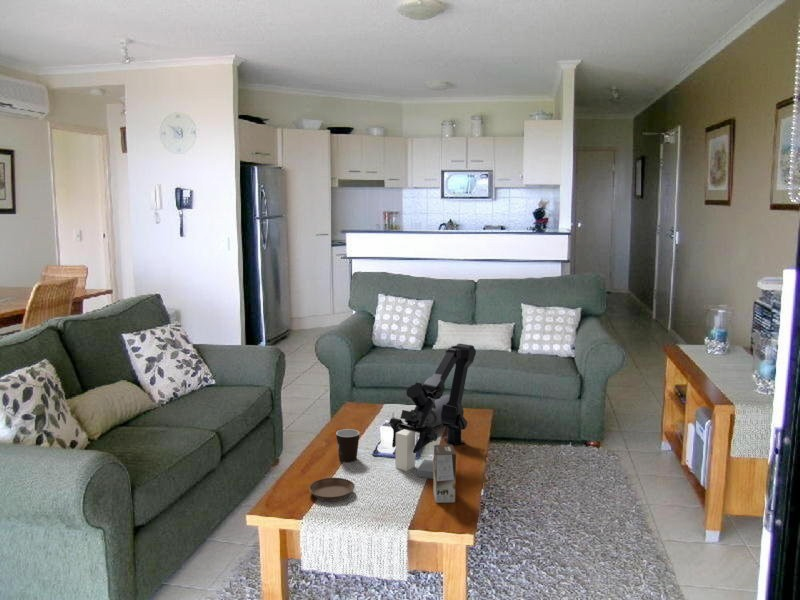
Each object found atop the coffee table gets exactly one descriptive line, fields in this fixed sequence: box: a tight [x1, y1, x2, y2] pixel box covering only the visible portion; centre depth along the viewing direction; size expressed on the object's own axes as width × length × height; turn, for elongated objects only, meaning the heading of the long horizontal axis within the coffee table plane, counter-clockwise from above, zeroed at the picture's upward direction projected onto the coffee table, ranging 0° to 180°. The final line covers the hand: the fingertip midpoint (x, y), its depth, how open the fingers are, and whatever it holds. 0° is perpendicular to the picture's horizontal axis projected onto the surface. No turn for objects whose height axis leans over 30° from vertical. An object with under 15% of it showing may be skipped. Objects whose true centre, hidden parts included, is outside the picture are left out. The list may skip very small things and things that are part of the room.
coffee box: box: [432, 444, 457, 504], centre depth 220 cm, size 9×6×16 cm
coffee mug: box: [335, 428, 361, 463], centre depth 253 cm, size 12×9×10 cm
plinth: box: [416, 459, 434, 480], centre depth 240 cm, size 10×10×2 cm
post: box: [394, 429, 416, 472], centre depth 244 cm, size 5×5×13 cm
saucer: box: [308, 477, 356, 502], centre depth 223 cm, size 15×15×3 cm
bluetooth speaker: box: [424, 394, 450, 428], centre depth 294 cm, size 23×9×10 cm, turn 155°
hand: (403, 449), depth 243 cm, fingers open, 9 cm apart
